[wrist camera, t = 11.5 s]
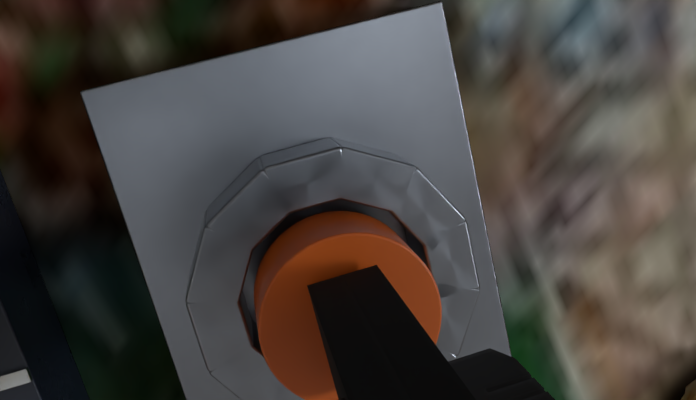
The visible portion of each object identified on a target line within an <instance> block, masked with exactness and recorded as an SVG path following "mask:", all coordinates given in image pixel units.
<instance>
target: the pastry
mask: <svg viewBox="0 0 696 400" xmlns="http://www.w3.org/2000/svg"><path fill="white" fill-rule="evenodd" d="M681 400H696V379H695V380H694V381H693V382H691V383H690V384H689V385H687V386H686V387H685V394H684V395H683V397H682V399H681Z"/></svg>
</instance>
